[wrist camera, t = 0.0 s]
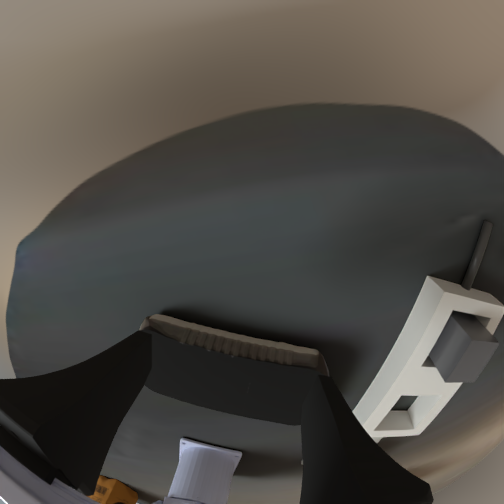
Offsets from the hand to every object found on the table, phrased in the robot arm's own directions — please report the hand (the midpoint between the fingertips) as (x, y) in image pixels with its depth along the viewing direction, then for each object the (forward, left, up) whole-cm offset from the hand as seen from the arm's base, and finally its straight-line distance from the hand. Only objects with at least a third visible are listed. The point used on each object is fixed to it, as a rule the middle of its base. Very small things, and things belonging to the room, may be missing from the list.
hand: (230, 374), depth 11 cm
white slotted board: (-2, -18, -10) cm, 21 cm away
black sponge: (-9, 0, -11) cm, 14 cm away
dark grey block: (0, -18, -10) cm, 21 cm away
